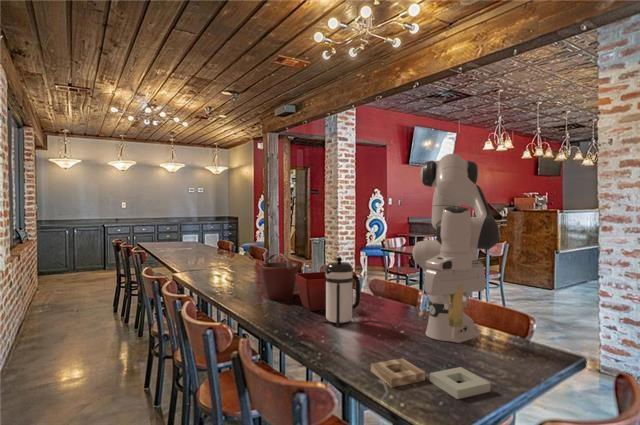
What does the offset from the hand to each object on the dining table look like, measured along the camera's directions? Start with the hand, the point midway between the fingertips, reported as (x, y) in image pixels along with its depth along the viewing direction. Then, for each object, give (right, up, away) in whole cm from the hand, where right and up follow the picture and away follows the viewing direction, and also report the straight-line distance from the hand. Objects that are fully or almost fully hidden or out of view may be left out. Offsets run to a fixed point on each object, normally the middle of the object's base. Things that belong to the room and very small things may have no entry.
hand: (455, 307), depth 116 cm
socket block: (+1, -23, 0) cm, 23 cm away
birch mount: (-16, -23, +7) cm, 29 cm away
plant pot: (-41, -22, +90) cm, 101 cm away
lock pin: (0, -5, 0) cm, 5 cm away
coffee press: (-31, -22, +64) cm, 74 cm away
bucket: (-63, -21, +114) cm, 132 cm away
